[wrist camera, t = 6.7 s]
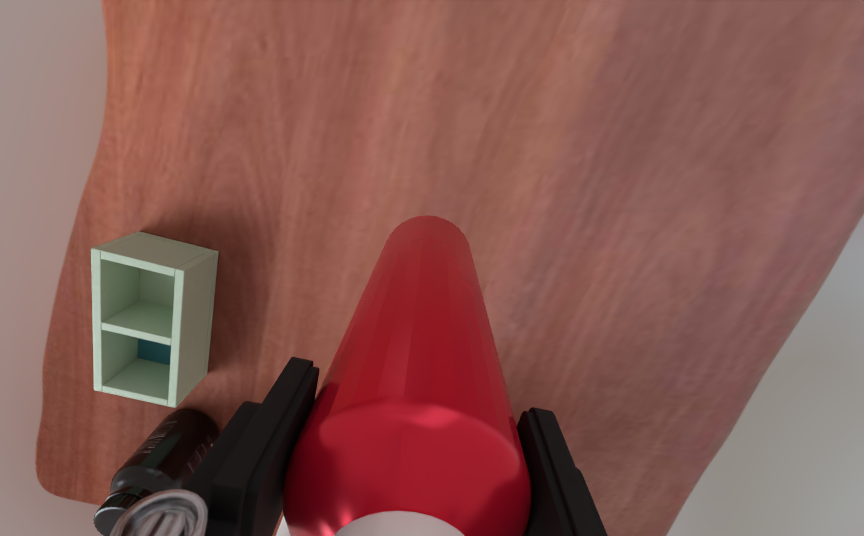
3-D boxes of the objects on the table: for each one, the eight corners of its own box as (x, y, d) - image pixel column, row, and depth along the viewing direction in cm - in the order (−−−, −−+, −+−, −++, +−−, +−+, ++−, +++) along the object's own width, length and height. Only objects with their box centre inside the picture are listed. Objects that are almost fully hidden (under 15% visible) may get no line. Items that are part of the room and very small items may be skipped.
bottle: (439, 197, 24) (444, 486, 5) (487, 270, 25) (640, 713, 6) (365, 247, 25) (126, 644, 6) (416, 313, 26) (358, 805, 7)
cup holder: (135, 357, 44) (93, 390, 39) (138, 230, 40) (90, 247, 34) (207, 374, 45) (175, 408, 40) (218, 251, 40) (184, 270, 35)
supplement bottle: (166, 448, 49) (83, 546, 37) (163, 403, 46) (74, 492, 35) (223, 457, 49) (158, 556, 38) (222, 412, 47) (154, 503, 35)
